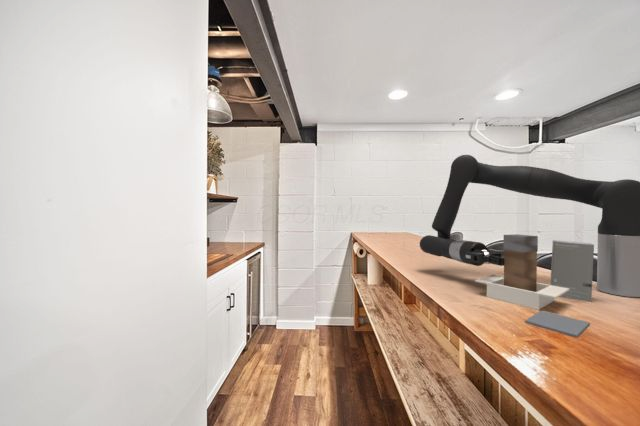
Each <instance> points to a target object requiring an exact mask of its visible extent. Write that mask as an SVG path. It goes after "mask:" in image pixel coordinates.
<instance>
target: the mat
mask: <svg viewBox="0 0 640 426" xmlns="http://www.w3.org/2000/svg"><path fill="white" fill-rule="evenodd" d="M524 323H525V324H528V325H531V326H536V327H538V328H542V329H546V330H549V331H552V332H556V333H558V334H563V335H566V336H569V337H573V338H576V339H577V338H578V337H579V336H580V335H581V334H582V333H583V332H585V330H586V329H587V328H588V327H589V326H590V322H589V321H586V320H582V319H577V318H575V317H574V318H573V317H568V316H565V315H561V314H557V313H553V312H549V311H546V310H545V311H544V310H541V309H540V311H538V312H537V313H535V314H533V315H532V316H529V317H528V318H527V319H524Z"/></svg>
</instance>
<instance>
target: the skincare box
mask: <svg viewBox="0 0 640 426" xmlns="http://www.w3.org/2000/svg"><path fill="white" fill-rule="evenodd" d="M594 254H595V244H593V243H591V242H581V241H571V240H560V239H559V240H558V239H553V240H552V247H551V263H550V264H551V269H550V284H549V285H552V286H558V287H563V288H569V289H570V290H569V291H567V292H566V293H564V294H562V295H561V296H559V297H558V298H563V299H568V300H569V299H570V300H575V301H576V300H577V301H583V302H590V303H592V296H593V295H592V293H593V291H592V290H593V274H594Z"/></svg>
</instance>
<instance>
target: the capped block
mask: <svg viewBox="0 0 640 426" xmlns="http://www.w3.org/2000/svg"><path fill="white" fill-rule="evenodd" d="M538 238H539V236H538V235H528V234H518V233H517V234H503V251H504V266H503V277H504V286H509V287H513V288H518V289H523V290H528V291H533V292H537V283H538V282H537V280H538V279H537V278H538V277H537V276H538V275H537V273H538V270H537V269H538V268H537V267H538V266H537V265H538V251H539V250H538V249H539V248H538V246H539V245H538V244H539V242H538V241H539V239H538Z"/></svg>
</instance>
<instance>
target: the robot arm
mask: <svg viewBox="0 0 640 426" xmlns="http://www.w3.org/2000/svg"><path fill="white" fill-rule="evenodd" d="M469 184H480V185H486V186H492V187H496V188H500V189H503V190H508V191H510V192H511V191H512V192H515V193H518V194H519V193H520V194H524V195H529V196H535V197H540V198H541V197H542V198H548V199H558V200H567V201H572V202H576V203H581V204H585V205H589V206H593V207H596V208H599V209H601V210H602V212H601V220H600V222H599V224H598V226H597V255H596V256H597V261H596V262H597V264H596V265H597V269H596V270H597V271H596V272H597V273H596V274H597V275H596V289H597V291H600V292H603V293H606V294H611V295H614V296H615V295H616V296H622V297H629V298H640V181H639V180H635V179H619V180H615V181H605V180H604V181H603V180H592V179H586V178H585V179H584V178H579V177H575V176H571V175H568V174H566V173H562V172H561V171H560V172H559V171H556V170H554V169H548V168H542V167H538V166H537V167H536V166H530V165H529V166H528V165H501V166H500V165H493V164H488V163H483V162H480V161H478V159H476V157H474V156H473V155H471V154H461V155H459V156H457V157H456V158H455V159H454V160H453V161H452V163H451V166H450V173H449V177H448V181H447V185H446V189H445V190H444V194H443V197H442V199H441V202H440V204H439V206H438V207H437V210H436V214H435V216H434V219H433V221H432V223H431V228H432V230H434V231H436V232H437V236H435V235H430V234H429V235H425V236H423V237H422V238H421V239H420V241H419V248H420V249H421V251H422V252H423V253H425V254H428V255H432V256H436V257H443V258H446V259H449V260H450V259H451V260H453V261H457V262H459V263H463V264H466V265H471V266H476V267H480V266H483V265H490V264H491V265H496V266H499V267H501V266H503V267H504V250H501V249H499V250H497V249H493V248H488V247H487V246H486V245H485V244H484V243H483V242H479V241H472V240H466V239H465V240H463V239H461V240H460V239H452V238H451V233H452V229H453V226H454V224H455V221H456V218H457V215H458V213H459V211H460V210H459V209H460V206H461V203H462V199H463V198H464V197H463V196H464V194H465V191H466V190H467V187H468V185H469Z"/></svg>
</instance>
